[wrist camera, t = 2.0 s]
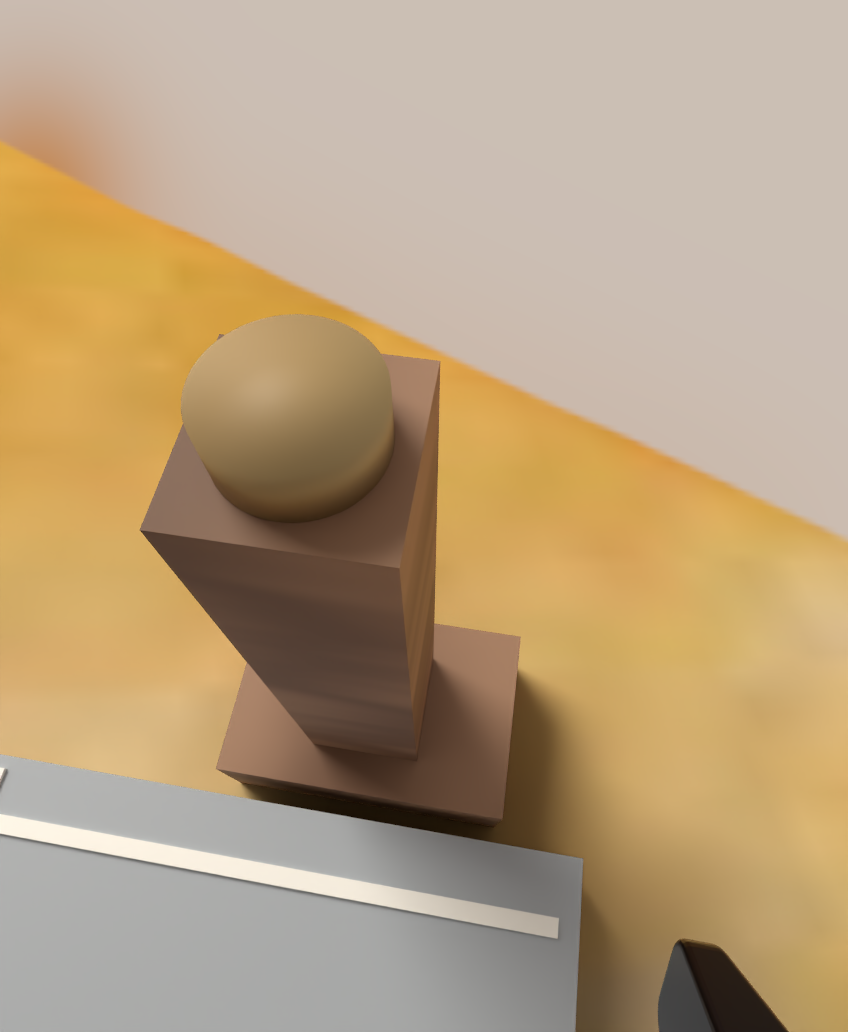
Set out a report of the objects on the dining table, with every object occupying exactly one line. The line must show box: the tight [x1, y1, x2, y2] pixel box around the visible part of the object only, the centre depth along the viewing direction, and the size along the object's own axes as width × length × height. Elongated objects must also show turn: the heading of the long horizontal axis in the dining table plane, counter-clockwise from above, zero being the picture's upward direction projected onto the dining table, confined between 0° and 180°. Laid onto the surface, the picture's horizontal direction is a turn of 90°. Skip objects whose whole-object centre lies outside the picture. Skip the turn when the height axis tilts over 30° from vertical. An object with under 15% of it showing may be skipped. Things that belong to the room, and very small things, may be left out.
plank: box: [0, 754, 583, 1032], centre depth 15 cm, size 20×10×2 cm, turn 81°
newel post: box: [140, 314, 521, 827], centre depth 13 cm, size 7×4×15 cm, turn 81°
